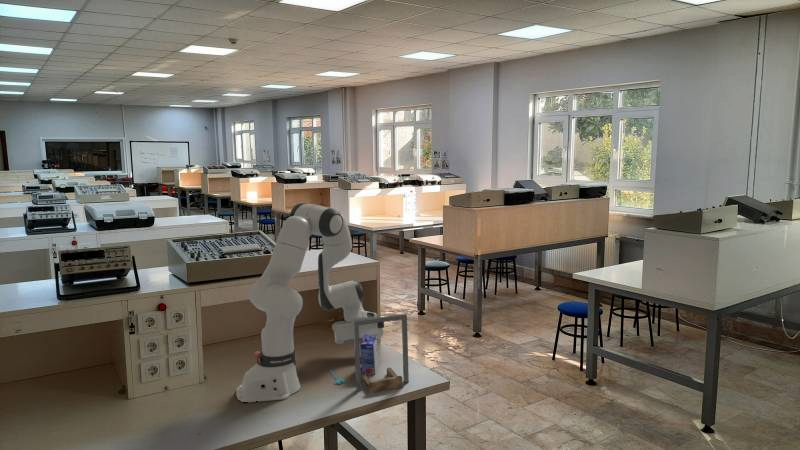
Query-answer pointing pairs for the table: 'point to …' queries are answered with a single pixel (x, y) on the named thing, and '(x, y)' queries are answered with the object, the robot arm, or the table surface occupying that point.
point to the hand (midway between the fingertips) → (362, 349)
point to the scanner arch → (380, 324)
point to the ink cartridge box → (369, 354)
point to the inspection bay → (382, 382)
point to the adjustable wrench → (338, 379)
